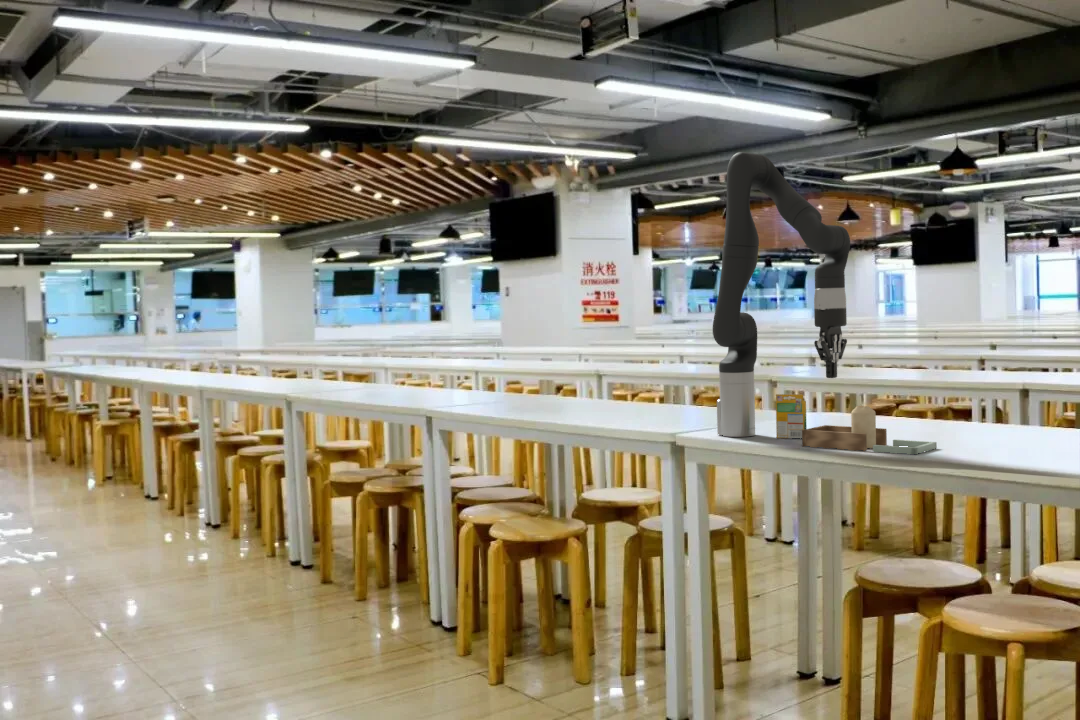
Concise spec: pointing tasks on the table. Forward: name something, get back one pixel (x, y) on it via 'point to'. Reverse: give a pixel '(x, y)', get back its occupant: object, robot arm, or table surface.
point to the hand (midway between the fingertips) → (831, 377)
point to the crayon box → (790, 416)
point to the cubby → (840, 437)
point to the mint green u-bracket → (912, 448)
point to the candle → (864, 423)
